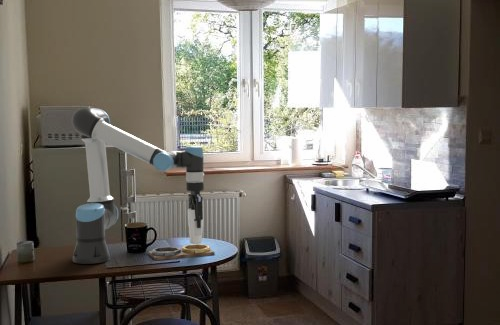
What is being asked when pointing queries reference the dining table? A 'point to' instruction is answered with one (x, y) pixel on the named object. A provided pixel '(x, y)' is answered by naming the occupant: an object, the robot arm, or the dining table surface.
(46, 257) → the dining table surface
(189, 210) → the drinking glass
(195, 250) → the far collar
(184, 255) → the walnut board
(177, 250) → the near collar
